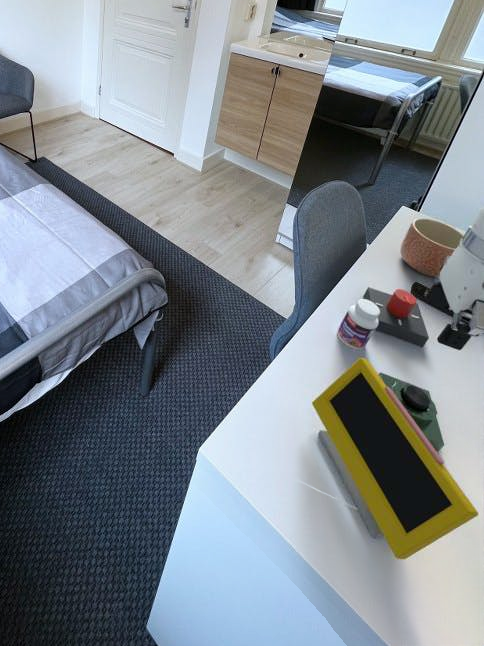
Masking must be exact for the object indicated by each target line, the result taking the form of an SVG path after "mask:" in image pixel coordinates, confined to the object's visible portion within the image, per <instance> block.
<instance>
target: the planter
mask: <svg viewBox="0 0 484 646" xmlns="http://www.w3.org/2000/svg"><path fill="white" fill-rule="evenodd" d="M464 234H465V233H463V232H462V231H460V230H458V229H457V228H455V227H453V226H451V225H449V224H447V223H445V222H442V221H439V220H435V219H432V218H425V217H421V218H420V217H419V218H416V219H414V220H413V221H412V222H411V224H410V225H409V227H408V230H407V231H406V233H405V235H404V237H403V240H402V242H401V244H400V250H399V251H400V255H401V258H402V259H403V261H404V262H405V263H406V264H407V265H408V266H409V267H410V268H411V269H413V270H414V271H416V272H418V273H420V274H423V275H426V276H429V277H435V278H436V277H437V276H440V271H441V270H440V268H441V267H442V266H444V263H445V260H446V257H447V255H449V256H451V255H452V253H453V252H454V251H455V250H456V248H457V247H458V246H459V245H460V240H461V239H462V237H463V236H464Z"/></svg>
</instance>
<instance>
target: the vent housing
mask: <svg viewBox="0 0 484 646" xmlns="http://www.w3.org/2000/svg"><path fill="white" fill-rule="evenodd" d="M377 374H378V375H379V376H380V378H381V379H382V381H383V382H384V383H385V385H386V386H388V387H389V388H390V389H391V390H392V391H393V393H394V394H395V395H396V397H397V398H398V399H399V401H400V402H401V404H402V405H403V406H404V408H405V409H406V410H407V412H408V413H409V415H410V416H411V417H412V419H413V420H414V421H415V423H416V424H417V426H418V427H419V428H420V430H421V431H422V432H423V434H424V435H425V437H426V438H427V439H428V441H429V442H430V443H431V445H432V446H433V448H434V449H435V450H436V452H437V453H438V452H440V451H441V450H442V448H443V447H444V446H445V442H444V439H443V435H442V432H441V428H440V425H439V420H438V417H437V415H438V410H437V406H436V404H435V402H434V401H433V399H432V396H431V393H430V390H427V389H425V388H422V387H420V386H417V385H415V384H412V383H410V382H407V381H404V380H401V379H398V378H396V377H394V376H391V375H389V374H386V373H383V372H381V371H380V372H379V373H377ZM409 385H413V386H416V387H418V388H420V389H421V390H422V391H424V392H425V393H426V394H427V396H428V397H429V399H430V404H429V406H428V407H427V408H426V410H425V411H422V412H420V411H416V410H414V409H412V408H411V407H410V406H408V405H407V404H406V403H405V402H404V400H403V398H402V392H403V391H404V389H405V388H406V387H407V386H409Z"/></svg>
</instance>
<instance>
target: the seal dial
mask: <svg viewBox="0 0 484 646" xmlns="http://www.w3.org/2000/svg"><path fill="white" fill-rule="evenodd" d="M391 295H392V297H391V299H390V300H389V302H388V304H387V309H388V311H389V312H390V313H392V314H393V315H395V316H396V317H399V318H407V316H408V315H409V313H410V312H411V310H412V309H413V307H414V305H415V304H416V303H418V301H417V298H416V297H415V295H414V294H412V293H411V292H409V291H407V290H405V289H401V288H397V289H395V290H394V291H393V294H391Z"/></svg>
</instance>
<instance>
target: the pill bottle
mask: <svg viewBox="0 0 484 646" xmlns="http://www.w3.org/2000/svg"><path fill="white" fill-rule="evenodd" d="M379 314H380V310H379V308H378V307H377V306H376V305H375V304H374V303H373V302H371V301H369V300H366V299H364V298H360V299H358V300H357V301H356V303H355V304H354V305H351V306H349V308H348V310H347V312H346V313H345V315H344V316H343V319H342V321H341V323H340V324H339V326H338V327H337V331H336V332H337V333H336V334H337V336H338V338H339V340H340V341H341V342H342V343H343V344H344V345H345V346H347V347H348V348H351V349H354V350H362V349H364V348H365V347H366V346H367V345H368V343H369V341H370V339H371V338H372V336H373V335H374V333H375V331H376V328H377V326H378V323H379V322H378V318H377V317H378V316H379Z"/></svg>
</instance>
